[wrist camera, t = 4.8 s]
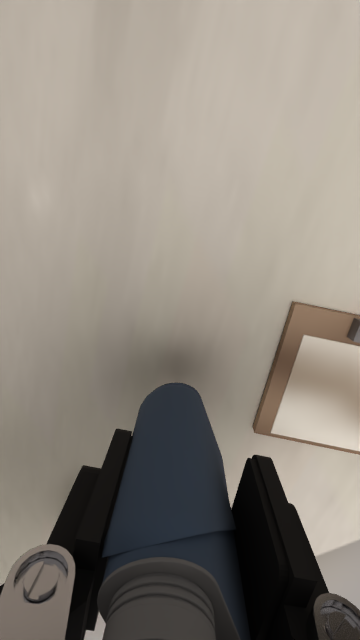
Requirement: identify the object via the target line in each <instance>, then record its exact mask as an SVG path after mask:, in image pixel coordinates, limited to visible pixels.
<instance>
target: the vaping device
mask: <svg viewBox="0 0 360 640" xmlns="http://www.w3.org/2000/svg"><path fill="white" fill-rule="evenodd" d="M132 436H133V439H132V442H131V446H130V450H129V454H128V457H127V461H126V465H125V469H124V472H123V476H122V480H121V484H120V487H119V491H118V495H117V499H116V502H115V506H114V510H113V514H112V517H111V521H110V525H109V529H108V532H107V535H106V537H105V540H104V545H103V552H102V557H101V558H104V557H107V556H109V558H108V562H107V566H106V570H105V574H104V578H103V582H102V585H101V587H100V590H99V593H98V598H97V605H98V610H99V612H100V614H101V616H102V618H103V620H104V622H105V623H106V626H105V629H104V634H103V639H102V640H251V637H250V631H249V624H248V618H247V612H246V605H245V599H244V593H243V586H242V580H241V574H240V567H239V561H238V555H237V549H236V542H235V536H234V530H236V525H235V522H234V518H233V514H232V510H231V507H230V503H229V498H228V492H227V485H226V479H225V473H224V466H223V460H222V456H221V453H220V450H219V447H218V444H217V442H216V439H215V436H214V433H213V430H212V428H211V425H210V422H209V419H208V416H207V413H206V411H205V408H204V405H203V402H202V399H201V397H200V395H199V393H198V392H197V390H195V389H194V388H193V387H191V386H189V385H187V384H183V383H169V384H165V385H162V386H160V387H158V388H156V389H155V390H154V391H153V392H151V393H150V394H149V395H148V396H147V397H146V398H145V400H144V401H143V403H142V404H141V406H140V409H139V413H138V417H137V420H136V424H135V428H134V432H133V435H132Z"/></svg>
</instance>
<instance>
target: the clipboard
mask: <svg viewBox="0 0 360 640" xmlns="http://www.w3.org/2000/svg"><path fill="white" fill-rule="evenodd" d="M253 430H254V433H258V434H263V435H267V436H272V437H277V438H282V439H287V440H292V441H296V442H301V443H306V444H311V445H316V446H321V447H325V448H330V449H335V450H340V451H345V452H350V453H354V454H359V455H360V315H355V314H350V313H346V312H341V311H336V310H331V309H326V308H322V307H317V306H312V305H307V304H303V303H298V302H292V305H291V308H290V312H289V315H288V318H287V321H286V324H285V327H284V330H283V334H282V337H281V340H280V343H279V346H278V349H277V353H276V356H275V359H274V362H273V365H272V368H271V371H270V375H269V378H268V381H267V384H266V387H265V390H264V394H263V397H262V400H261V403H260V406H259V409H258V412H257V416H256V419H255V422H254V425H253Z"/></svg>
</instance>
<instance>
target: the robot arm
mask: <svg viewBox="0 0 360 640" xmlns="http://www.w3.org/2000/svg"><path fill="white" fill-rule="evenodd" d="M131 434H132V431H127V430H121V429H116V430H115V433H114V436H113V438H112V441H111V444H110V447H109V449H108V452H107V455H106V457H105V460H104V463H103V466H102V468H101V469H100V468H95V467H90V466H84V465H83V466H82V468H81V470H80V472H79V474H78V476H77V478H76V481H75V483H74V485H73V487H72V489H71V492H70V494H69V496H68V498H67V500H66V503H65V505H64V507H63V509H62V511H61V514H60V516H59V518H58V520H57V522H56V524H55V527H54V529H53V531H52V533H51V535H50V538H49V540H48V542H47V544H46V545H40V546H37V547H35V548H32V549H30V550H29V551H27V552H26V553H24V554H23V555H22V556H20V558H19V559H18V560H17V561H16V562H15V563H14V564H13V566H12V568H11V570H10V572H9V574H8V576H7V578H6V581H5V583H4V584H3V585H1V586H0V640H84V637H85V633H86V630H90V631H94V630H95V626H96V622H97V618H98V613H99V610H98V605H97V598H98V593H99V590H100V587H101V585H102V582H103V578H104V574H105V570H106V566H107V562H108V558H109V556H107V557H104V558H101V557H102V552H103V545H104V540H105V537H106V535H107V532H108V529H109V525H110V521H111V517H112V514H113V510H114V506H115V502H116V499H117V495H118V491H119V487H120V484H121V480H122V476H123V472H124V469H125V465H126V461H127V457H128V454H129V450H130V446H131V442H132V439H133V436H131ZM231 510H232V514H233V518H234V522H235V525H236V530H234V536H235V542H236V549H237V555H238V561H239V567H240V574H241V580H242V586H243V593H244V599H245V605H246V612H247V618H248V624H249V631H250V637H251V640H360V610H359V609H358V608H357V607H356V606H355V605H353V604H352V603H351V602H349V601H348V600H347V599H345V598H343V597H341V596H339V595H337V594H332V593H329V591H328V589H327V587H326V584H325V581H324V579H323V576H322V574H321V571H320V569H319V566H318V564H317V561H316V559H315V556H314V553H313V551H312V548H311V546H310V543H309V541H308V538H307V536H306V533H305V531H304V528H303V526H302V523H301V521H300V518H299V516H298V513H297V511H296V509H295V507H294V505H292V504H291V503H288V501H287V498H286V496H285V493H284V490H283V488H282V485H281V482H280V480H279V477H278V474H277V472H276V469H275V466H274V464H273V461H272V459H271V458H270V457H265V456H259V455H253V457H252V459H251V458H248V459H247V461H246V464H245V467H244V470H243V473H242V477H241V480H240V483H239V486H238V490H237V493H236V496H235V499H234V503H233V506H232V509H231Z"/></svg>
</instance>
